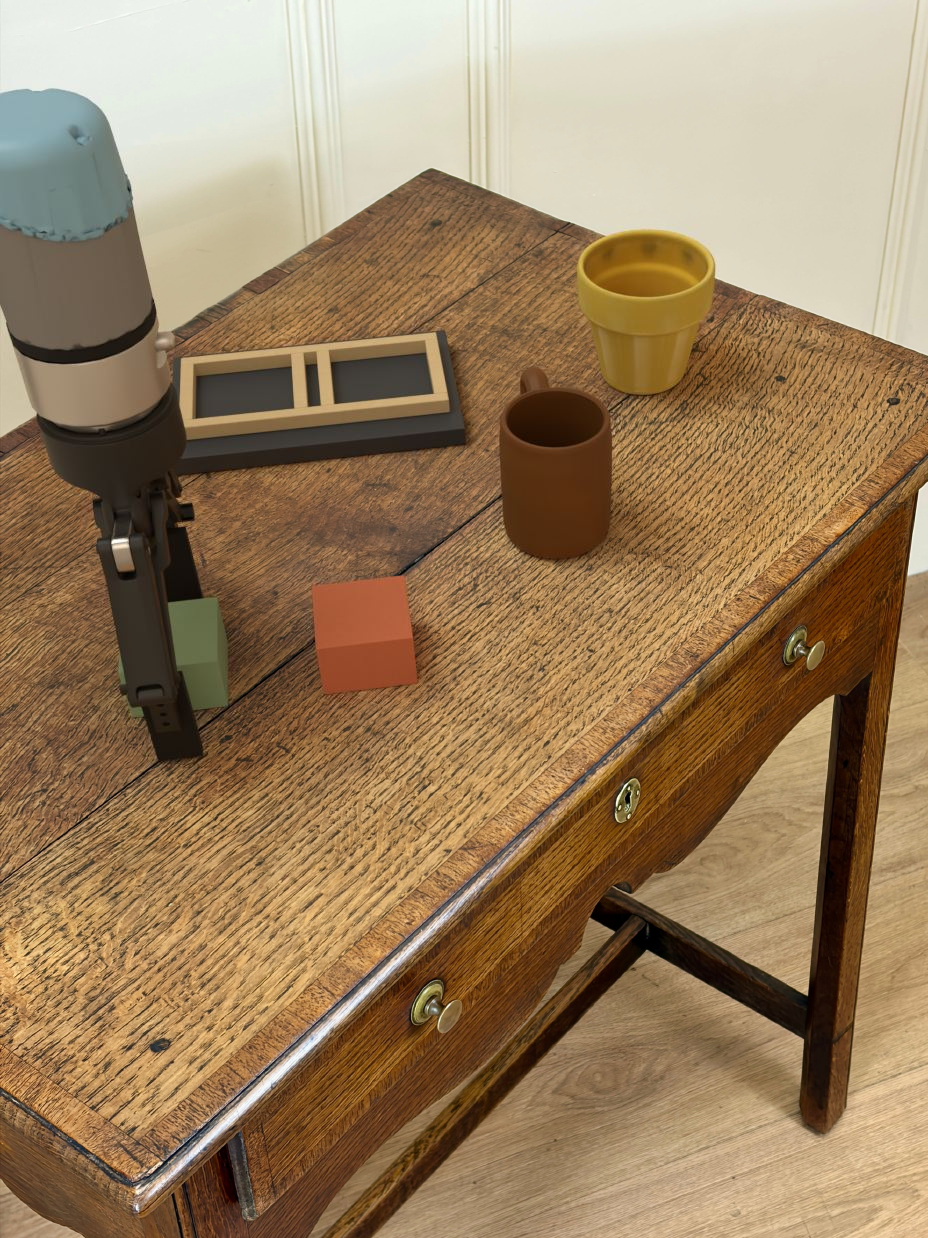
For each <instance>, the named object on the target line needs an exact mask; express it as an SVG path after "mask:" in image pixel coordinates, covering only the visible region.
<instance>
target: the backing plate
mask: <svg viewBox="0 0 928 1238" xmlns="http://www.w3.org/2000/svg"><path fill="white" fill-rule="evenodd" d="M171 383H172V384H173V385H174V387H175V389H176V393H177V397H178V401H179V405H180V409H181V414H182V418H183V422H184V426H185V431H186V435H187V443H186V448H185V451H184V453H183V455H182V457H181V459H180V460H179V461H178V463H177V464H176V465H175V466H174V469H175V471H176V474H177V476H184V475H193V474H202V473H203V474H204V473H211V472H222V471H230V470H232V471H233V470H239V469H241V470H242V469H247V468H248V469H249V468H259V467H268V466H277V465H285V464H295V463H303V462H304V463H305V462H313V461H323V460H333V459H342V458H350V457H359V456H370V455H379V454H387V453H396V452H406V451H417V450H423V449H425V450H426V449H433V448H443V447H444V448H445V447H451V446H453V447H455V446H461V445H466V444H467V438H466V437H467V436H466V426H465V422H464V416H463V412H462V411H463V410H462V406H461V402H460V396H459V391H458V386H457V382H456V377H455V371H454V367H453V362H452V357H451V352H450V346H449V341H448V337H447V331H446V329H441V330H431V331H430V330H429V331H422V332H420V331H419V332H412V333H410V332H409V333H401V334H391V335H380V336H371V337H363V338H362V337H361V338H352V339H343V340H342V339H341V340H332V341H331V340H330V341H323V342H314V343H303V344H291V345H284V346H282V345H281V346H272V347H264V348H254V349H243V350H235V351H224V352H223V351H222V352H213V353H204V354H196V355H195V354H194V355H185V356H174V357H173V358H172V376H171Z"/></svg>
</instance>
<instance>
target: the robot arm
mask: <svg viewBox="0 0 928 1238" xmlns="http://www.w3.org/2000/svg"><path fill="white" fill-rule="evenodd" d="M132 189H133V188H132V184H131V180H130V179H129V177H128V174H127V173H126V171H125V168H124V165H123V162H122V158H121V155H120V152H119V149H118V146H117V143H116V140H115V137H114V133H113V130H112V127H111V125H110V122H109V120H108V117H107V116H106V113H104V111H103V110H102V109H101V108H100V107H99V106H98V105H97V104H96V103H94V102H93V101H92V100H90V99H89V98H88V97H86V96H84V95H82V94H79V93H78V92H73V91H70V90H65V89H60V88H54V87H53V88H52V87H51V88H46V89H43V90H32V89H30V88H21V89H14V90H9V91H4V92H3V91H2V92H0V308H1V311H2V313H3V316H4V317H3V318H4V320H5V325H6V329H7V332H8V336H9V338H10V341H11V345H12V347H13V351H14V355H15V358H16V361H17V364H18V367H19V371H20V374H21V377H22V381H23V384H24V388H25V390H26V394H27V397H28V400H29V403H30V405H31V408H32V409H33V410H34V412H36V414H35V415H36V417H35V418H36V422H37V425H38V428H39V432H40V434H41V438H42V441H43V445H44V447H45V450H46V453H47V457H48V460H49V463H50V465H51V468H52V469H53V470H54V473H55V474H56V475H57V476H58V477H59V478H60V480H62V481H64V482H65V483H67V484H69V485H71V486H73V487H75V488H78V489H82V490H85V491H86V492H90V493H92V494H94V495H96V496H97V497H93V498H92V512H93V519H94V523H95V525H96V527H97V528H98V529H99V530H100V534H101V536H99V537H97V538H96V544H95V551H96V554H97V555H98V557H99V561H100V564H101V567H102V571H103V575H104V579H105V582H106V589H107V593H108V599H109V604H110V609H111V614H112V619H113V624H114V625H113V626H114V629H115V635H116V640H117V644H118V650H120V656H121V661H122V666H123V671H124V676H125V681H126V684H123V685H122V684H120V685H118V688H119V692H120V694H121V696H125V695H127V700H128V702H129V705H130V706H131V707H132V708H135V707H141V708H142V711H143V714H144V716H143V718H144V720H145V725H146V727H147V729H148V733H149V736H150V739H151V742H152V743H151V744H152V746H153V749H154V752H155V756H156V759H157V761H158V762H167V761H173V760H182V759H189V758H191V759H192V758H197V757H198V758H199V757H204V745H203V741H202V737H201V733H200V729H199V726H198V723H197V719H196V715H195V713H194V710H193V708H192V705H191V701H190V697H189V694H188V690H187V687H186V683H185V679H184V676H183V672H182V671H177V665H176V658H175V651H174V644H173V637H172V630H171V623H170V616H169V609H168V603H169V602H177V601H186V600H195V599H204V594H203V590H202V586H201V581H200V577H199V574H198V570H197V567H196V562H195V558H194V554H193V550H192V546H191V542H190V539H189V533H188V529H187V526H185V525H184V526H178V523H189V522H195V520H196V516H195V508H194V504H193V502H185V503H180V501H179V500H178V498H182V492H183V485H182V483H181V482H180V479H179V477H178V476H179V475H177V474H176V471H175V469H174V466H175V465H176V464H177V463H178V461H179V460H180V459H181V457H182V455H183V453H184V451H185V448H186V443H187V435H186V431H185V426H184V422H183V418H182V414H181V409H180V405H179V401H178V397H177V393H176V389H175V387H174V385H173V384H172V373H171V370H170V368H171V367H170V365H169V360H168V356H167V352H166V351H171V350H174V348H175V347H176V345H177V342H176V337H175V335H174V334H173V332H172V331H171V330H170V331H159V325H160V324H159V323H160V322H159V318H158V313H157V312H158V311H157V307H156V303H155V298H154V296H153V291H152V287H151V281H150V278H149V274H148V269H147V265H146V261H145V256H144V252H143V251H144V250H143V246H142V243H141V238H140V234H139V229H138V228H139V227H138V224H137V217H136V213H135V209H134V203H133V201H134V196H133V190H132ZM127 700H126V701H127Z"/></svg>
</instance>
